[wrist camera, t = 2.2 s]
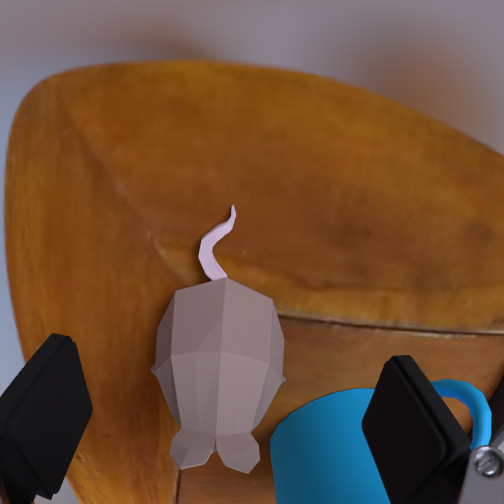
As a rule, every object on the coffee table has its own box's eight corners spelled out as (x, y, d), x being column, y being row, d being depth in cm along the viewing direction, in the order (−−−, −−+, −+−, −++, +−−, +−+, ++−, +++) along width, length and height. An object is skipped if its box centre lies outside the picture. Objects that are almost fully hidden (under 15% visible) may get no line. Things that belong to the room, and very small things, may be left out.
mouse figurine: (304, 211, 12) (382, 295, 5) (272, 381, 14) (292, 507, 8) (161, 198, 11) (76, 268, 5) (161, 372, 14) (131, 496, 7)
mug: (327, 480, 18) (350, 573, 10) (239, 447, 16) (245, 573, 8) (466, 375, 15) (533, 462, 8) (411, 309, 13) (515, 432, 6)
